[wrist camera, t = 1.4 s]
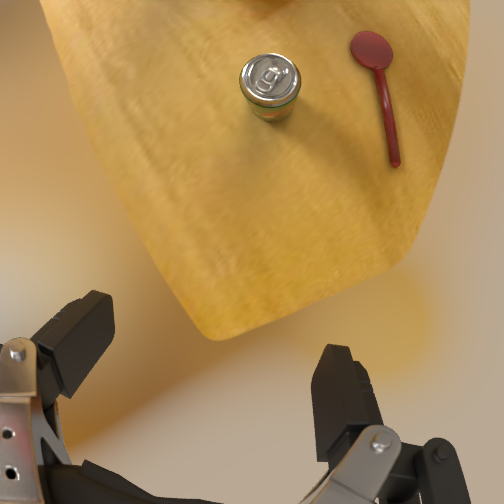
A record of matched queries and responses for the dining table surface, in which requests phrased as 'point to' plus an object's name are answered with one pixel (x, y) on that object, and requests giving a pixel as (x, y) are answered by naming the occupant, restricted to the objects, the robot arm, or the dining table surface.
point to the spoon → (379, 81)
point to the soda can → (270, 86)
